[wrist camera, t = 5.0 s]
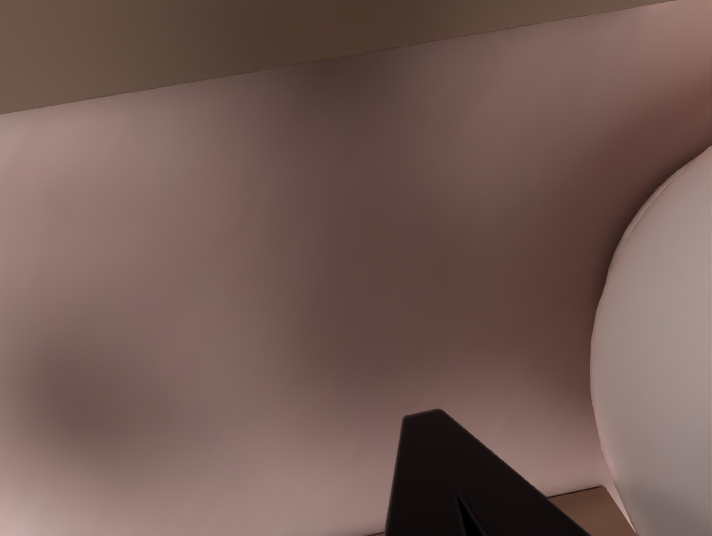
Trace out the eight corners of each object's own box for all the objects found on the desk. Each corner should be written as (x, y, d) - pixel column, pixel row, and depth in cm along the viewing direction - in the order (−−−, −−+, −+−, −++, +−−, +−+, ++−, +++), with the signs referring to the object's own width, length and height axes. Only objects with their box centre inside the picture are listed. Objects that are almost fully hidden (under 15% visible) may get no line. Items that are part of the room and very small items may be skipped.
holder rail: (601, 516, 16) (669, 624, 13) (174, 608, 15) (151, 740, 12) (649, -96, 9) (803, -134, 6) (-103, 24, 9) (-276, 37, 6)
